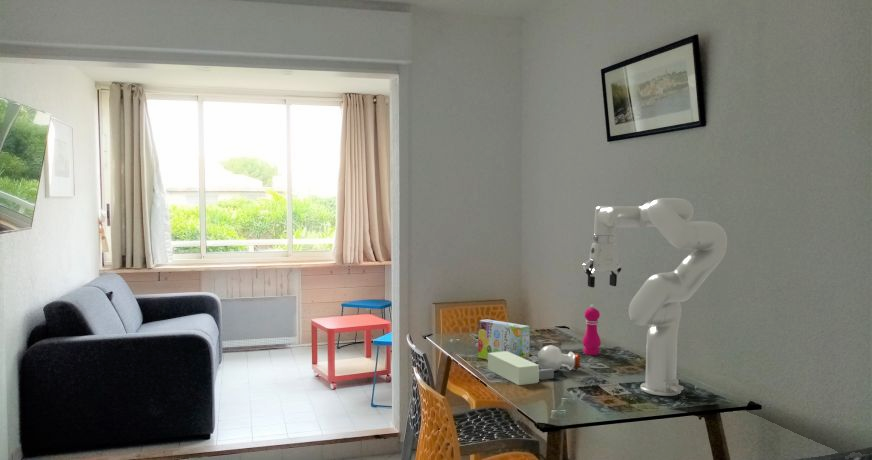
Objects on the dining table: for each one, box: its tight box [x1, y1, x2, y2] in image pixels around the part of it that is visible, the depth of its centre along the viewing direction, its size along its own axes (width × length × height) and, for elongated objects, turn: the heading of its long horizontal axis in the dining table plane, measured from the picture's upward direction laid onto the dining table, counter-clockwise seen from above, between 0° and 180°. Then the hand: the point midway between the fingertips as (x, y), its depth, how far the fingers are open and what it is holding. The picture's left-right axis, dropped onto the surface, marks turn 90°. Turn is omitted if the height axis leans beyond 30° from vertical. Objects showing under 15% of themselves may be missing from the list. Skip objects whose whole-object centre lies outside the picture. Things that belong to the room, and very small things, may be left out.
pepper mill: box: [582, 303, 602, 356], centre depth 259 cm, size 7×7×20 cm
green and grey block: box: [487, 351, 555, 386], centre depth 227 cm, size 22×16×6 cm
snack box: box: [477, 319, 531, 361], centre depth 245 cm, size 21×6×15 cm, turn 47°
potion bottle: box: [537, 344, 581, 372], centre depth 233 cm, size 9×10×15 cm
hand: (602, 286), depth 233 cm, fingers open, 9 cm apart
